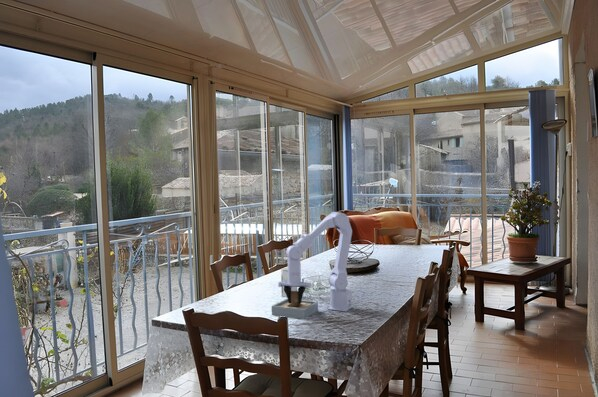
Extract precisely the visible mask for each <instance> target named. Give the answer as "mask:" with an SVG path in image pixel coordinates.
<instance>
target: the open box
mask: <svg viewBox="0 0 598 397" xmlns="http://www.w3.org/2000/svg"><path fill="white" fill-rule="evenodd" d="M287 302H288V298H285V299H283V300H281V301H279V302H277V303H275V304H273V305H271V315H272V316H279V317H284V316H287V317H286V318H293V319H301V320H305V319H307V318H308V317H310V316H312V315H314V314H315V313H317V312H319V302H318V301H313V300H312V301H311V300H305V299H302V301H301V302H302V303H311V305H310V306H308V307H306V308H304V309H298V308H289V307H281V305H283V304H285V303H287Z"/></svg>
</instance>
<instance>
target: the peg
mask: <svg viewBox="0 0 598 397" xmlns="http://www.w3.org/2000/svg"><path fill="white" fill-rule="evenodd" d="M290 298H291V307H297V308H298V307H300V304H299V295H298V290H297V291H291V292H290Z"/></svg>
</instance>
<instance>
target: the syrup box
mask: <svg viewBox="0 0 598 397" xmlns="http://www.w3.org/2000/svg"><path fill="white" fill-rule="evenodd" d="M280 270H281V271H280V272H281V274H280V276H281V278H280V279H281V281H280V282H288V266H287V267H283V268H282V267H281V269H280ZM291 291H298V287H292V288H291ZM281 297H282V298H283V297H284V298H287V295H286V293H285V291H284V287H281Z"/></svg>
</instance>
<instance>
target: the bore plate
mask: <svg viewBox="0 0 598 397" xmlns="http://www.w3.org/2000/svg"><path fill="white" fill-rule="evenodd" d="M310 305H311V303H302V302H301V304H300V307H298V309H304V308H306V307H308V306H310ZM281 307H289V308H297V307H291V303H289V302H287V303H285V304H283V305H281Z"/></svg>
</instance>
